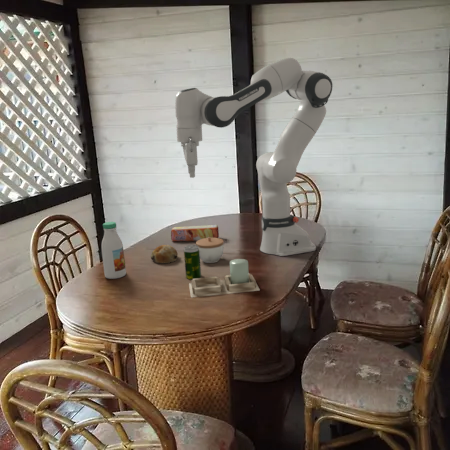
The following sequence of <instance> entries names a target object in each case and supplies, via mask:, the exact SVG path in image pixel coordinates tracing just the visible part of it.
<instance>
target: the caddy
mask: <svg viewBox="0 0 450 450" xmlns="http://www.w3.org/2000/svg"><path fill="white" fill-rule="evenodd" d="M188 287H189V293H190V294H189V295H190V298H198V297H199V298H200V297H208V296H218V295H229V294H238V293H249V292H250V293H251V292H257V291H260V290H261V289H260V288H259V286H258V284H257V282H256V279H255V277H254V276H253V274H252V273H249V283H239V284H231V279H230V274H228V275H227V274H226V275H225V276H224V277H223V279H221V278H220V277H218V276H208V277H207V276H206V277H200V278H195V279H193V280H192V279H190V282H189V283H188Z"/></svg>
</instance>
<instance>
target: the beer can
mask: <svg viewBox="0 0 450 450" xmlns="http://www.w3.org/2000/svg"><path fill="white" fill-rule="evenodd" d="M183 260H184V269H185V270H184V271H185V279H187V280H193V279H195V278H202V272H201V270H202V269H201V258H200V253H199V248H198V246H197V245H196V244H190V245H185V246H184V247H183Z"/></svg>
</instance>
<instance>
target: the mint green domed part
mask: <svg viewBox="0 0 450 450" xmlns="http://www.w3.org/2000/svg"><path fill="white" fill-rule="evenodd" d="M229 275H230V279H231V284H239V283H249V261H248V260H247V259H244V258H235V259H231V260H229Z"/></svg>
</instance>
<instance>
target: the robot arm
mask: <svg viewBox="0 0 450 450" xmlns="http://www.w3.org/2000/svg"><path fill="white" fill-rule="evenodd" d="M332 91H333V81H332V79H331V77H330V76H329V75H327V74H325V73H323V72H317V71H314V70H302V66H301V64H300V62H299V61H298V60H297V59H295V58H293V57H287V58H283V59H280V60H277V61H274V62H271V63H270V64H268V65H266V66H264V67H262V68H260V69H259V70H257V71H255V73H254V74H252V76H251V79H250V84H249V85H248V86H246V87H245V88H243V89H240V90H239V91H238V92H235V93H234V94H231V95H227V96H226V95H224V96H223V95H222V96H215V97H214V96H210V95H208V94H206V93H204V92H202V91H200V90H199V88H196V87H191V88H186V89H182V90H179V91H178V92H177V93H176V96H175V106H174V107H175V117H176V142H177V143H180V147H182V150H183V155H184V160H185V163H186V165H187V169H188V174H189V177H190V178H193V179H194V178H195V177H196V166H198V164H199V163H198V150H197V147H199V146H200V142H202V141H203V129H202V128H203V125H204V124H205V125H207V126H213V127H216V128H221V129H222V128H226V127H228V126H230V125H232V123H233V122H234V121H235V120H236V118H237V117H238V115H240V114H241V113H242V112H244V111H245V110H247V109H249V108H251V107H253V106H254V105H256V104H258V103H259V102H261V101H266V100H270V99H272V98H275V97H277V96H279V95H281V94H282V93H284V92H286V94H287V95H289V97H290V98H293V99H295V100H299V103H298V104H299V105H298V107H297V110H296V111H295V112H294V114H293V115H292V117H291V118H290V120H289V121H288V123H287V125H286V126H285V128H284V129H283V130H282V132H281V133H280V135H279V141H278V143H277V146H276V147H275V148H274V151H269V152H265V153H262V154H261V155H260V156H258V158H257V160H256V164H255V166H256V167H255V168H256V170H257V174H258V176H257V177H258V182H259V188H260V193H261V201H262V202H261V203H262V207H261V208H262V215H261V229H262V237H261V243H260V247H259V250H260V252H262V253H264V254H269V255H276V256H280V257H284V256H291V255H297V254H298V255H299V254H303V253H304V254H305V253H311V252H315V251H316V250H317V246H316V244H315V243H314V242H312V241H311V239H310V235H309V233H308V232H307V231H306V230H305V229H303V228H302V227H301V226H300V225H298V224H296V223H298V222H299V218H298V217H297V216H294V215H293V214H291V195H290V192H289V190H288V185H287V184H289V183H290V182H292V181H293V180H294V179H295V177H296V175H297V168H298V165H299V163H300V162H301V161H300V160H301V158H302V155H303V153H304V152H305V150H306V148H307V146H308V145H309V144H310V143H311V141H312V139H313V137H314V136H315V135H316V133H317V131H319V128H320V127H321V125H322V123H323V120H324V119H325V117H326V115H327V107H326V106H325V105H327V103H328V101H329V99H330V97H331V95H332Z"/></svg>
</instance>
